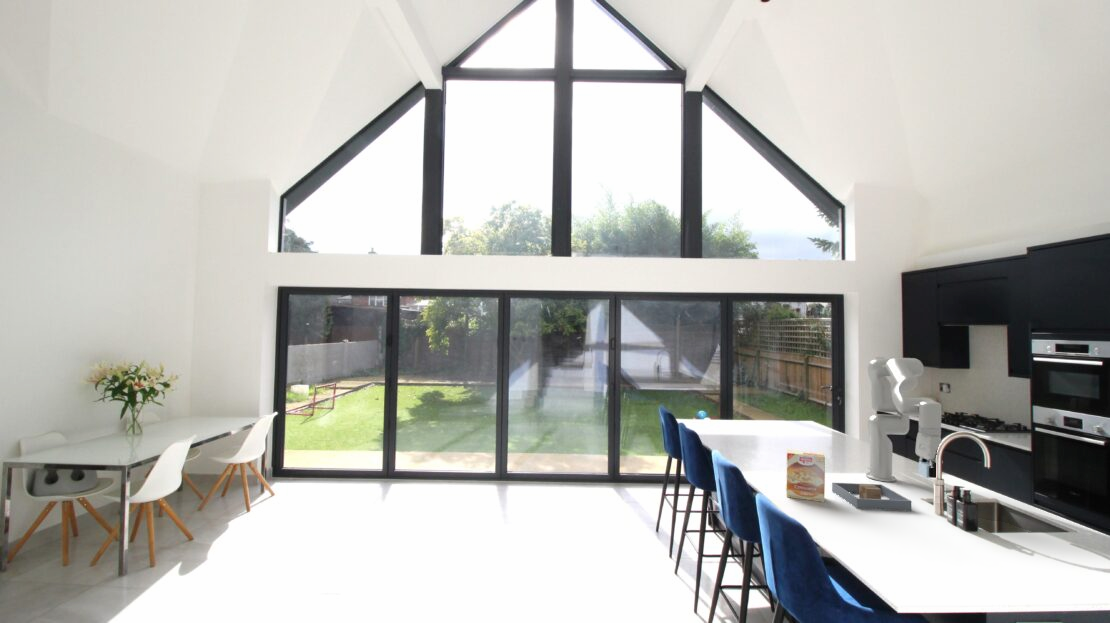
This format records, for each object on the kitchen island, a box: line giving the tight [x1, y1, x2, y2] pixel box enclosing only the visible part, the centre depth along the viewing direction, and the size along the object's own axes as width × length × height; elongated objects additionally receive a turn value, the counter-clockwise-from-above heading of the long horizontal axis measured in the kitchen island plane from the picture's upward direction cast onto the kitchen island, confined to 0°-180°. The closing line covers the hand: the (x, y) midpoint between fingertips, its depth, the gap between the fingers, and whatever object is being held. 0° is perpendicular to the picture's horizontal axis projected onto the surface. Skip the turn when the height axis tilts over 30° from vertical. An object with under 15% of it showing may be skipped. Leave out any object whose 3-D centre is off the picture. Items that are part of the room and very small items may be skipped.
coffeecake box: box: [785, 449, 826, 503], centre depth 225 cm, size 15×7×20 cm, turn 68°
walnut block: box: [858, 483, 882, 499], centre depth 223 cm, size 6×6×6 cm
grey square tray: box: [831, 482, 912, 512], centre depth 223 cm, size 22×22×4 cm
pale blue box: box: [918, 461, 937, 479], centre depth 213 cm, size 5×5×5 cm
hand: (928, 474), depth 213 cm, fingers closed on pale blue box, 4 cm apart
